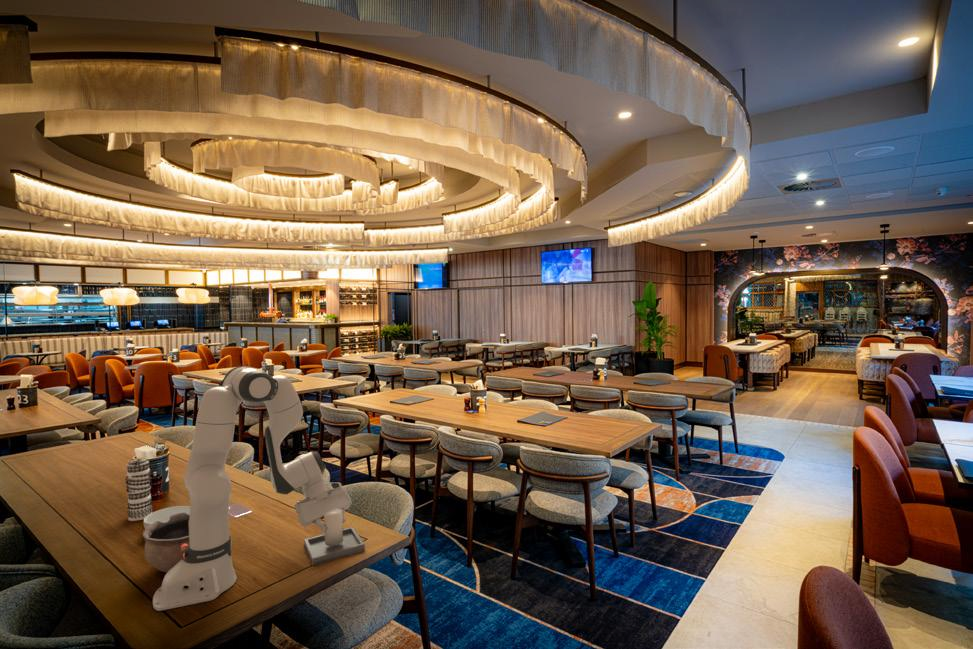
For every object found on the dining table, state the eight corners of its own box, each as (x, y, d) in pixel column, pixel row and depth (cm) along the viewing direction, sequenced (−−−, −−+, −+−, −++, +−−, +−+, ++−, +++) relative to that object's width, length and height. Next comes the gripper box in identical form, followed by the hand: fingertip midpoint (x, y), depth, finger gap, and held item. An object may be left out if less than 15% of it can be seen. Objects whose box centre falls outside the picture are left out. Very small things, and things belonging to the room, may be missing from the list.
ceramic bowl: (207, 543, 177) (205, 504, 176) (231, 562, 163) (229, 520, 163) (136, 569, 160) (134, 526, 159) (156, 592, 146) (154, 545, 145)
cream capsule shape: (326, 547, 167) (326, 517, 166) (323, 540, 172) (322, 511, 172) (344, 542, 170) (344, 513, 170) (340, 535, 175) (339, 507, 175)
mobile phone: (235, 516, 198) (219, 508, 207) (235, 519, 198) (220, 510, 207) (253, 510, 204) (237, 502, 213) (253, 512, 204) (237, 504, 213)
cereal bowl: (169, 543, 177) (168, 525, 177) (133, 539, 181) (132, 522, 181) (204, 523, 194) (203, 506, 194) (170, 520, 197) (170, 504, 197)
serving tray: (312, 565, 160) (312, 558, 160) (304, 545, 173) (304, 539, 173) (364, 550, 169) (364, 543, 169) (352, 533, 183) (352, 526, 183)
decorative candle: (158, 512, 206) (156, 456, 205) (141, 521, 197) (138, 463, 196) (139, 511, 207) (137, 456, 206) (121, 520, 198) (118, 462, 197)
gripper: (295, 498, 166) (312, 533, 161) (344, 481, 183) (360, 511, 177) (289, 508, 169) (305, 542, 164) (337, 490, 185) (353, 520, 180)
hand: (334, 526), depth 170 cm, fingers closed on cream capsule shape, 6 cm apart
